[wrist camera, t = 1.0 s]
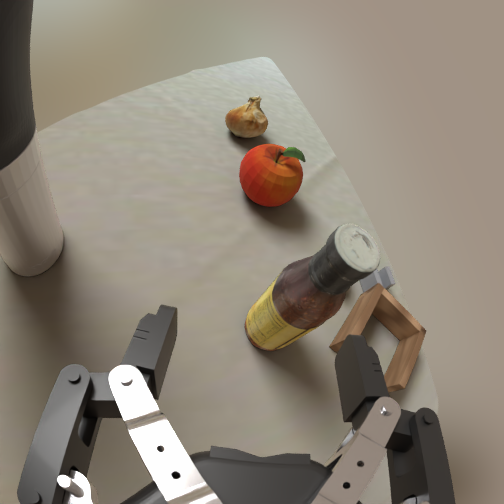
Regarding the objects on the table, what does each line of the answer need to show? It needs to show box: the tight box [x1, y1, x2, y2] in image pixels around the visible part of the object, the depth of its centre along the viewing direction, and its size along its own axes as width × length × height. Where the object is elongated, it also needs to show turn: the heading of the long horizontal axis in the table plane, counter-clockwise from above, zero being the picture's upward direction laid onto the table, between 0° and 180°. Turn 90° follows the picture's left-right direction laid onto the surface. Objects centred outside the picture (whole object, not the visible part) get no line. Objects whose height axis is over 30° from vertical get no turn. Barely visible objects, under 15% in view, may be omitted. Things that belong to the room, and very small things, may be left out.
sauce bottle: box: [245, 224, 381, 351], centre depth 28 cm, size 6×6×20 cm
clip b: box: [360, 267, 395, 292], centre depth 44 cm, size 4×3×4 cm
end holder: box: [329, 283, 426, 392], centre depth 38 cm, size 11×11×4 cm
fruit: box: [239, 144, 305, 207], centre depth 44 cm, size 10×10×10 cm
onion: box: [225, 96, 268, 138], centre depth 51 cm, size 8×8×8 cm
